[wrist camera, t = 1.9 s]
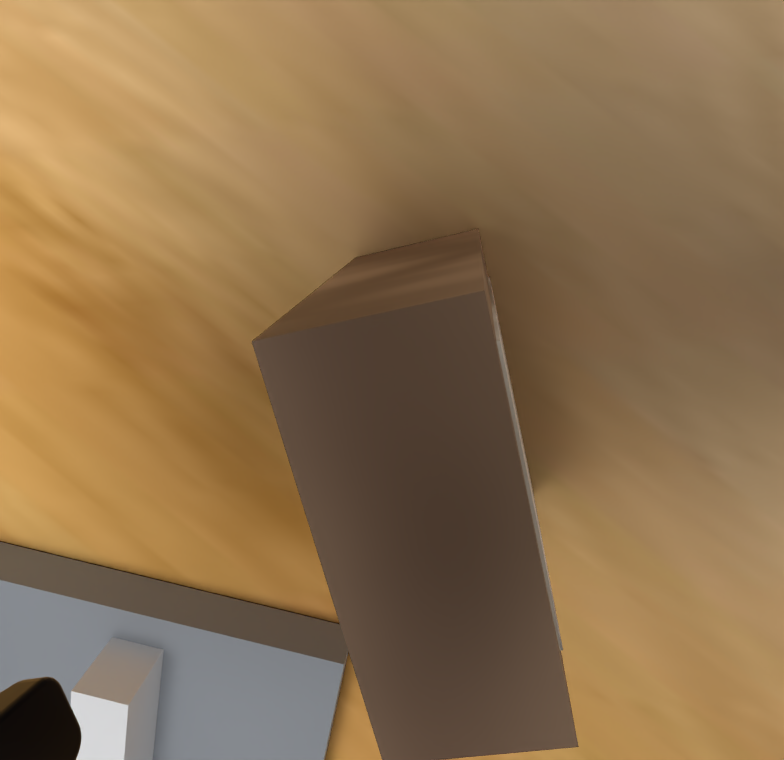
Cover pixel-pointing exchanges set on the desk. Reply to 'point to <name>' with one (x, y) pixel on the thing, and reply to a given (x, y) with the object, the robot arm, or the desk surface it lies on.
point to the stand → (168, 663)
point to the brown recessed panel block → (422, 501)
